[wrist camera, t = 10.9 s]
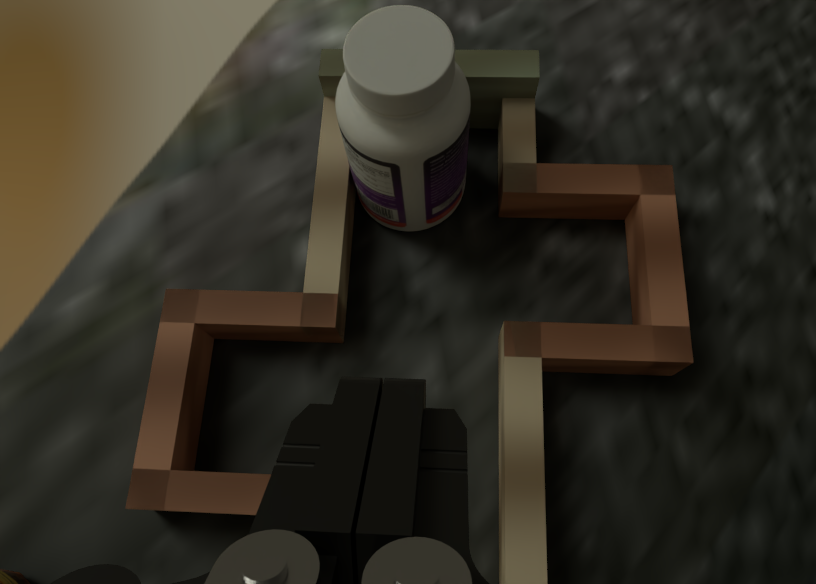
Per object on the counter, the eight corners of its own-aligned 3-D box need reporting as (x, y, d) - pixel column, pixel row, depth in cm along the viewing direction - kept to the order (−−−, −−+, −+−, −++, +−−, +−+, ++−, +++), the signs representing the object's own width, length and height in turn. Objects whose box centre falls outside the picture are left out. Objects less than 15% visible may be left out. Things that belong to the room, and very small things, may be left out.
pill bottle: (453, 130, 32) (460, -23, 23) (474, 224, 30) (490, 98, 21) (349, 148, 32) (314, 1, 23) (363, 243, 30) (331, 124, 21)
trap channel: (702, 693, 24) (752, 727, 20) (127, 657, 25) (72, 682, 21) (645, 105, 32) (673, 50, 28) (222, 101, 33) (195, 48, 30)
